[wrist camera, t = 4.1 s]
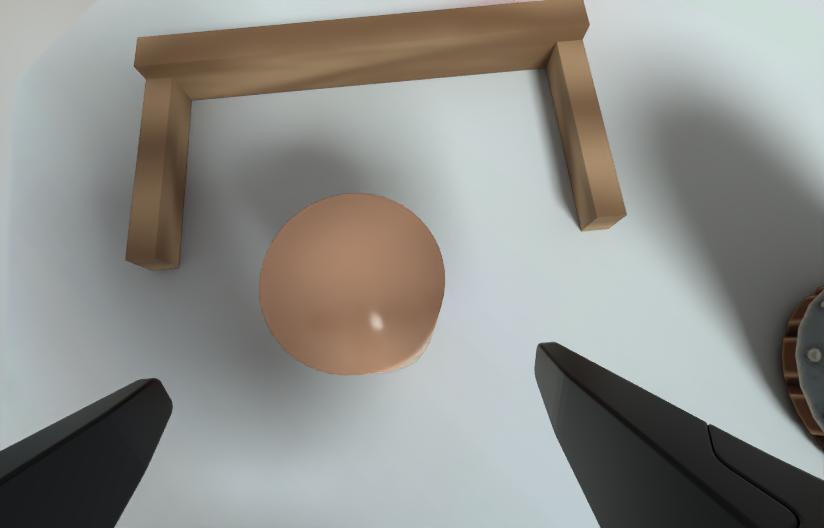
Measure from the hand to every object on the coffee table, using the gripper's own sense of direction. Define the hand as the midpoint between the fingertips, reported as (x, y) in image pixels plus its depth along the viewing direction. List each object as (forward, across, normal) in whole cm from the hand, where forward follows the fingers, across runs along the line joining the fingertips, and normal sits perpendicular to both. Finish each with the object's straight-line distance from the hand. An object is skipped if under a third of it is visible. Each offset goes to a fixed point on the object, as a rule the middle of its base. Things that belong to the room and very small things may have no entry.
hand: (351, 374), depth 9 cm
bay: (+17, 0, +1) cm, 17 cm away
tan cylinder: (+10, 0, -6) cm, 11 cm away
